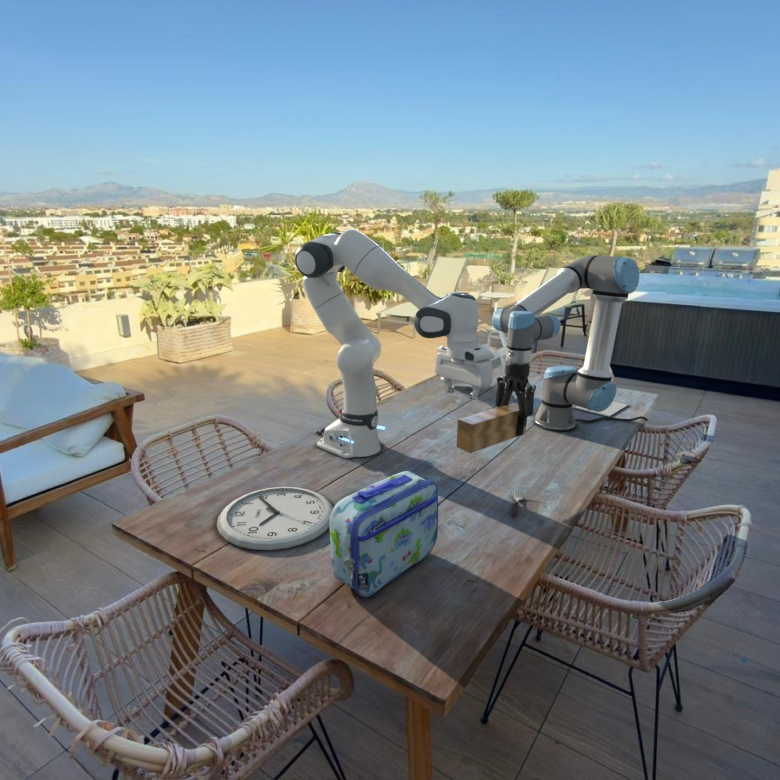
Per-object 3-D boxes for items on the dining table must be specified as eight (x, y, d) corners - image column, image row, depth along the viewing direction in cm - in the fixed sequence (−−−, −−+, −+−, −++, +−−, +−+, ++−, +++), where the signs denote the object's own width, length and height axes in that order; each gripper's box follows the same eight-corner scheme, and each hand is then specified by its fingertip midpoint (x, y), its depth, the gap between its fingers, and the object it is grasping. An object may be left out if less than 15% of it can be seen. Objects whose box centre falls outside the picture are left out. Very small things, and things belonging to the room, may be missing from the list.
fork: (507, 519, 137) (507, 512, 137) (515, 491, 152) (515, 485, 151) (517, 521, 136) (518, 514, 136) (524, 493, 151) (524, 487, 150)
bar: (511, 428, 172) (513, 402, 169) (525, 433, 168) (528, 407, 165) (456, 447, 157) (457, 419, 154) (470, 453, 153) (472, 424, 150)
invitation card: (608, 416, 214) (573, 407, 224) (608, 416, 214) (573, 408, 224) (628, 404, 229) (594, 396, 238) (628, 405, 229) (594, 397, 238)
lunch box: (357, 610, 104) (357, 517, 98) (324, 584, 111) (322, 496, 105) (442, 556, 121) (446, 474, 115) (408, 536, 129) (411, 459, 122)
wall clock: (333, 542, 123) (202, 546, 121) (333, 547, 124) (203, 552, 121) (335, 482, 152) (229, 485, 149) (335, 487, 152) (230, 490, 150)
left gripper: (429, 346, 156) (430, 390, 160) (480, 357, 141) (479, 406, 145) (445, 343, 160) (445, 386, 164) (496, 353, 144) (495, 401, 148)
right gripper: (486, 357, 165) (481, 425, 172) (535, 370, 151) (527, 444, 158) (502, 354, 170) (496, 421, 177) (551, 366, 156) (543, 438, 163)
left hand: (461, 395), depth 154 cm, fingers open, 8 cm apart
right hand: (511, 431), depth 168 cm, fingers closed on bar, 6 cm apart
